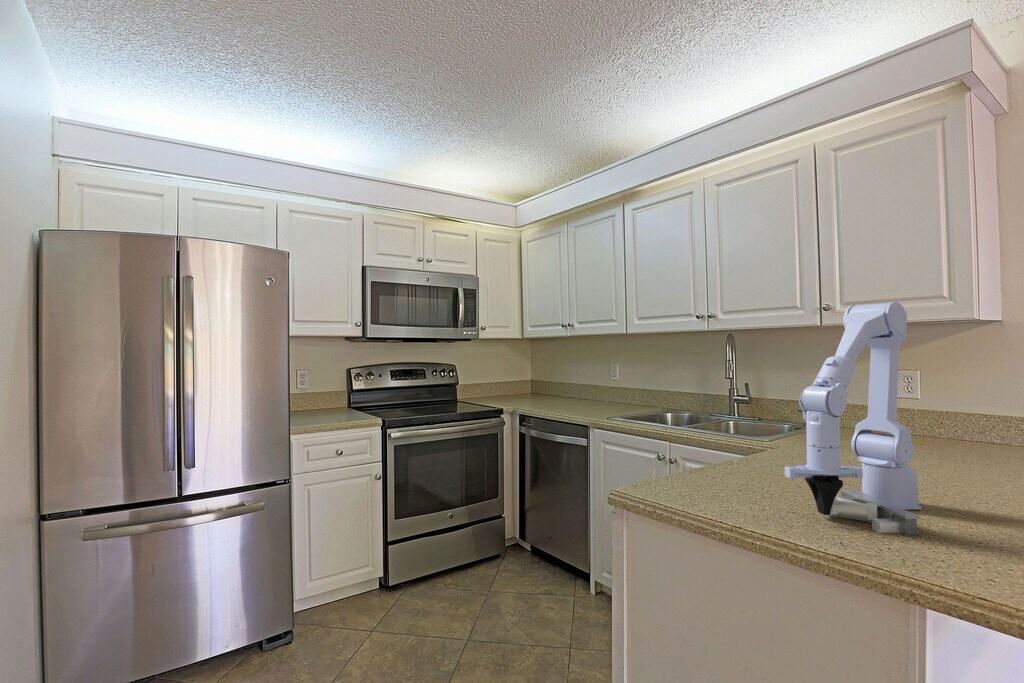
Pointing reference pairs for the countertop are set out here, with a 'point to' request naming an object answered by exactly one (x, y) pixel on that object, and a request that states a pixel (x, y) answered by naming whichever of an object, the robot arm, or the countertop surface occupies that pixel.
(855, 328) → the robot arm
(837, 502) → the pipe fitting
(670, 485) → the countertop surface
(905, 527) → the grey bracket
